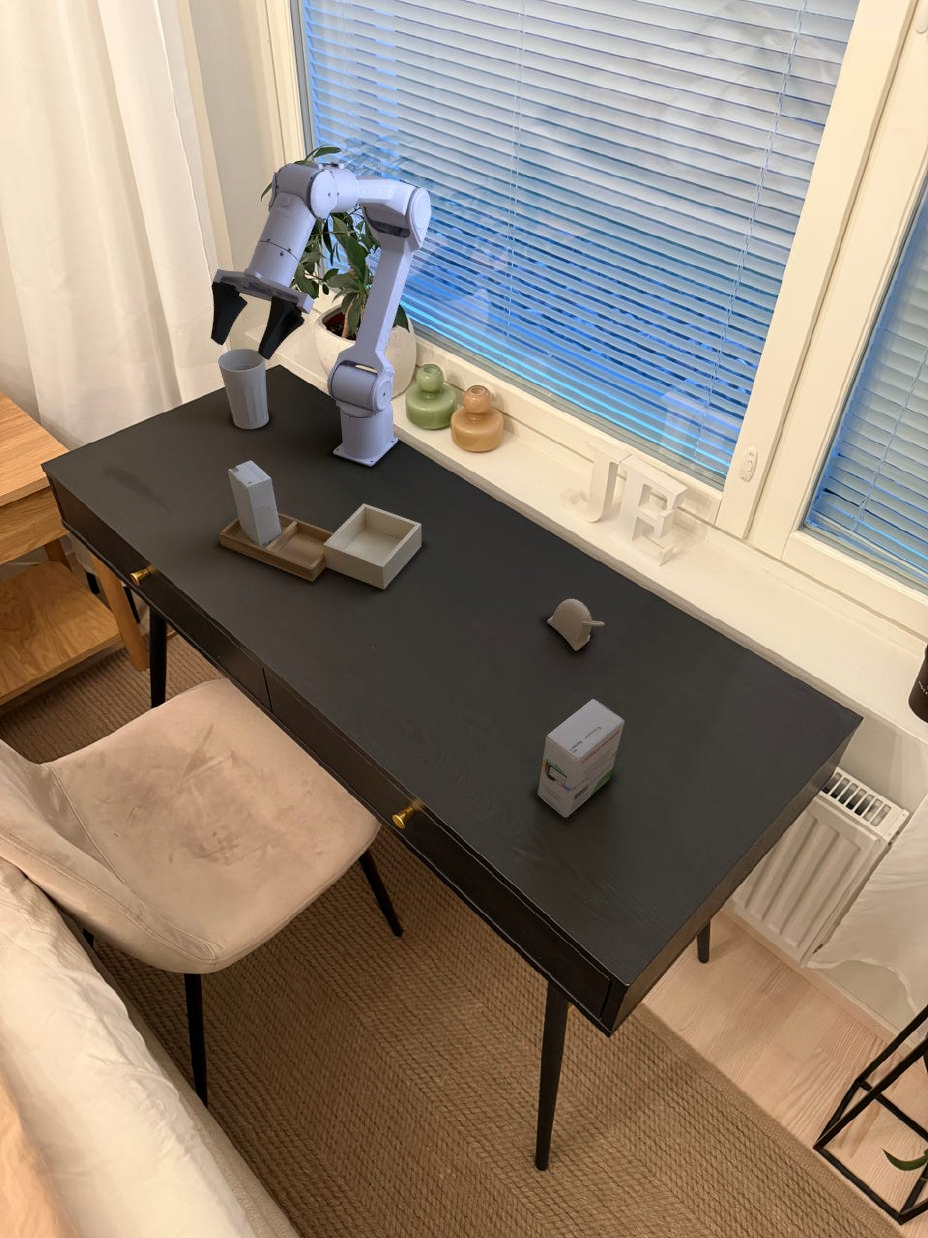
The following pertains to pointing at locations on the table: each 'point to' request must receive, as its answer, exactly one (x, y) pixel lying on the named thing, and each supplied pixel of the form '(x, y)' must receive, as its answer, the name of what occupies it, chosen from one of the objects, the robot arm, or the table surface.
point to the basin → (373, 545)
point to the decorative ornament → (573, 622)
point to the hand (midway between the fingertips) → (239, 349)
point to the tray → (284, 546)
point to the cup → (245, 386)
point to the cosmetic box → (255, 503)
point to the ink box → (579, 757)
